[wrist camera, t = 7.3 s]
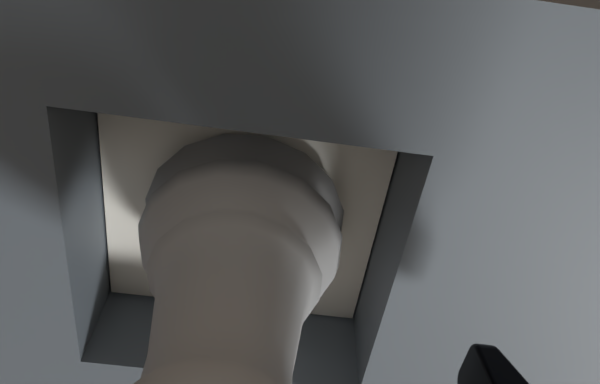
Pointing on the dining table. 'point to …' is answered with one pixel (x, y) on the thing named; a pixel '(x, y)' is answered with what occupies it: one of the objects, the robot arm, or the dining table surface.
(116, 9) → the socket board
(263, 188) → the rook chess piece
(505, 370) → the robot arm
